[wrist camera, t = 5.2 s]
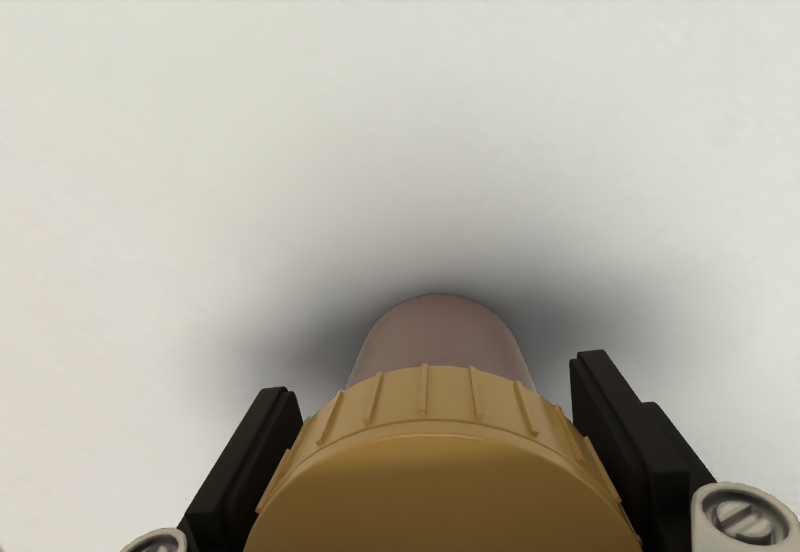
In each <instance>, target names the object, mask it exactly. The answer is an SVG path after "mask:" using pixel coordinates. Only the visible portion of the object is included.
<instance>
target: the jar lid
mask: <svg viewBox="0 0 800 552" xmlns="http://www.w3.org/2000/svg"><path fill="white" fill-rule="evenodd" d="M620 502H622V500H621V498H620V496H619V494H618V492H617V490H616V488H615V486H614V484H613V482H612V481H611V479H610V477H609V475H608V473H607V471H606V469H605V467H604V465H603V463H602V461H601V460H600V458H599V456H598V454H597V452H596V450H595V448H594V446H593V444H592V442H591V441H590V439H589V437H588V436H586V437H583V436H582V435H581V433H580V432H579V431H578V430H577V429H576V427H575V426H574V425H573V424H572V422H571V421H570V420H569V419H568V418H567V417H566V416H564V414H563V412H562V410H561V407H560V406H558V405H557V404H556V405H555V406H553V405H552V404H551V403H549V402H548V401H546V400H545V399H544V398H542V397H541V396H539V395H538V394H536V393H535V392H533V391H531V390H529V389H527V388H525V387H523V386H522V383H521V382H519V381H517V380H516V381H515V382H513V381H511V380H508V379H505V378H503V377H500V376H497V375H495V374H491V373H487V372H483V371H479V370H476V367H471V366H470V368H462V367H454V366H428V364H422V366H420V367H411V368H403V369H399V370H395V371H391V372H387V373H383V374H382V372H379V373H376V376H375V377H372V378H369V379H367V380H364V381H362V382H360V383H358V384H356V385H354V386H352V387H350V388H349V389H347V390H345V391H343V392H342V390H340V391H338V392H337V393H336V395H335V397H334V398H333V399H332V400H331V401H329V402H328V403H327V404H325V405H324V406H323V407H322V408H321V409H320V410H319V411H318V412H317V413H316V414H315V415H314V416H313V417H312V418H311V417H308V418H307V419H306V420H305V422H304V424H303V426H302V428H301V430H300V432H299V434H298V436H297V438H296V440H295V442H294V444H293V446H292V448H291V450H290V449H287V450H286V452H285V454H284V455H283V457H282V459H281V461H280V463H279V465H278V467H277V469H276V471H275V473H274V475H273V477H272V479H271V481H270V483H269V484H268V486H267V488H266V490H265V492H264V494H263V496H262V498H261V500H260V502H259V504H258V506H257V508H256V510H255V512H256V513H259V515H258V517H257V519H256V521H255V523H254V525H253V527H252V529H251V531H250V533H249V536H248V539H247V541H246V544H245V547H244V550H243V552H643V550H642V548H641V545H643V543H642V540H641V538H640V536H639V535H636V533H635V531H634V529H633V527H632V525H631V523H630V521H629V519H628V517H627V515H626V513H625V511H624V509H623V507H622V506H621V504H620Z"/></svg>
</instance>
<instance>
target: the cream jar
mask: <svg viewBox="0 0 800 552" xmlns="http://www.w3.org/2000/svg"><path fill="white" fill-rule="evenodd" d="M422 364H428V366H454V367H462V368H470V366H471V367H476V370H479V371H483V372H487V373H491V374H495V375H497V376H500V377H503V378H505V379H508V380H511V381H513V382H515V381H516V380H517V381H519V382H521V383H522V386H523V387H525V388H527V389H529V390H531V391H533V392H535V393H536V394H538V392H537V390H536V387H535V385H534V383H533V380H532V378H531V375H530V373H529V370H528V368H527V365H526V363H525V361H524V358H523V356H522V353H521V351H520V348H519V346H518V344H517V342H516V340H515V337H514V336H513V334H512V332H511V331H510V329H509V328H508V327H507V325H506V324H505V323H504V322H503V321H502V320H501V319H500V318H499V317H498V316H497V315H496V314H494V313H493V312H492V311H491V310H489V309H487V308H486V307H484V306H483V305H481V304H479V303H477V302H475V301H472V300H469V299H466V298H463V297H459V296H454V295H444V294H435V295H425V296H420V297H416V298H413V299H409V300H407V301H405V302H402V303H400V304H398V305H397V306H395V307H393V308H392V309H390V310H389V311H387V312H386V313H385V314H384V315H383V316H381V317H380V319H379V320H378V321H377V322H376V323H375V324H374V325H373V327H372V328H371V330H370V331H369V333H368V334H367V336H366V338H365V340H364V343H363V345H362V347H361V350H360V352H359V355H358V357H357V360H356V362H355V365H354V367H353V370H352V372H351V375H350V377H349V380H348V382H347V385H346V387H345V390H347V389H349V388H350V387H352V386H354V385H356V384H358V383H360V382H362V381H364V380H367V379H369V378H372V377H375V376H376V373H379V372H382V374H383V373H387V372H391V371H395V370H399V369H403V368H411V367H420V366H422ZM345 390H344V391H345Z"/></svg>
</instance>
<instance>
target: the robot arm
mask: <svg viewBox="0 0 800 552" xmlns="http://www.w3.org/2000/svg"><path fill="white" fill-rule="evenodd" d="M569 368H570V383H571V399H572V414H573V425H574V426H575V427H576V429H577V430H578V431H579V432H580V433H581V435H582V436H583V437H586V436H588V437H589V439H590V441H591V442H592V444H593V446H594V448H595V450H596V452H597V454H598V456H599V458H600V460H601V461H602V463H603V465H604V467H605V469H606V471H607V473H608V475H609V477H610V479H611V481H612V482H613V484H614V486H615V488H616V490H617V492H618V494H619V496H620V498H621V500H622V502H620V504H621V506H622V507H623V509H624V511H625V513H626V515H627V517H628V519H629V521H630V523H631V525H632V527H633V529H634V531H635V533H636V535H639V536H640V538H641V540H642V543H643V545H641V548H642V550H643V552H800V522H799V520H798V518H797V516H796V515H795V514H794V513H793V512H792V511H791V510H790V509H789V508H788V507H787V506H786V505H785V504H784V503H782V502H781V501H779V500H778V499H776V498H775V497H774V496H772V495H770V494H768V493H766V492H764V491H761V490H759V489H757V488H754V487H751V486H747V485H744V484H740V483H731V482H717V481H716V480H715V478H714V477H713V476H712V474H711V473H710V472H709V470H708V469H707V468H706V467H705V465H704V464H703V463H702V461H701V460H700V459H699V457H698V456H697V455H696V453H695V452H694V451H693V450H692V448H691V447H690V446H689V444H688V443H687V442H686V440H685V439H684V438H683V436H682V435H681V434H680V433H679V431H678V430H677V429H676V427H675V426H674V425H673V423H672V422H671V421H670V419H669V418H668V417H667V416H666V414H665V413H664V412H663V410H662V409H661V408H660V406H659V405H658V404H657V403H655V402H643V403H641V401H640V400H639V398H638V397H637V396H636V394H635V393H634V391H633V390H632V389H631V387H630V386H629V384H628V383H627V382H626V380H625V379H624V377H623V376H622V375H621V373H620V372H619V370H618V369H617V368H616V366H615V365H614V363H613V362H612V360H611V359H610V358H609V356H608V355H607V353H606V352H605V351H604V350H602V349H601V350H592V351H584V352H578V353H577V359H570V361H569ZM302 426H303V420H302V417H301V413H300V409H299V406H298V402H297V398H296V395H295V393H294V392H293V391H289V392H288V390H287V388H286V387H284V386H282V387H274V388H265V389H262V390H261V391H260V392H259V394H258V395H257V397H256V399H255V400H254V402H253V403H252V405H251V407H250V408H249V410H248V412H247V413H246V415H245V416H244V418H243V420H242V421H241V423H240V424H239V426H238V428H237V429H236V431H235V433H234V434H233V436H232V437H231V439H230V441H229V442H228V444H227V446H226V447H225V449H224V450H223V452H222V454H221V455H220V457H219V459H218V460H217V462H216V463H215V465H214V467H213V468H212V470H211V471H210V473H209V475H208V476H207V478H206V480H205V481H204V483H203V484H202V486H201V488H200V489H199V491H198V493H197V494H196V496H195V497H194V499H193V501H192V502H191V504H190V505H189V507H188V509H187V510H186V512H185V515H184V517H183V518H182V520H181V521H180V523H179V525H178V526H177V528H176V529H175V528H161V529H158V530H154V531H151V532H149V533H147V534H144V535H142V536H140V537H138V538H137V539H135V540H134V541H132V542H131V543H130V544H128V545H127V546H125V547H124V548H123V549H122V550H121V551H120V552H243V550H244V547H245V544H246V541H247V539H248V536H249V533H250V531H251V529H252V527H253V525H254V523H255V521H256V519H257V517H258V515H259V513H256V512H255V510H256V508H257V506H258V504H259V502H260V500H261V498H262V496H263V494H264V492H265V490H266V488H267V486H268V484H269V483H270V481H271V479H272V477H273V475H274V473H275V471H276V469H277V467H278V465H279V463H280V461H281V459H282V457H283V455H284V454H285V452H286V450H287V449H290V450H291V448H292V446H293V444H294V442H295V440H296V438H297V436H298V434H299V432H300V430H301V428H302Z"/></svg>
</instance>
